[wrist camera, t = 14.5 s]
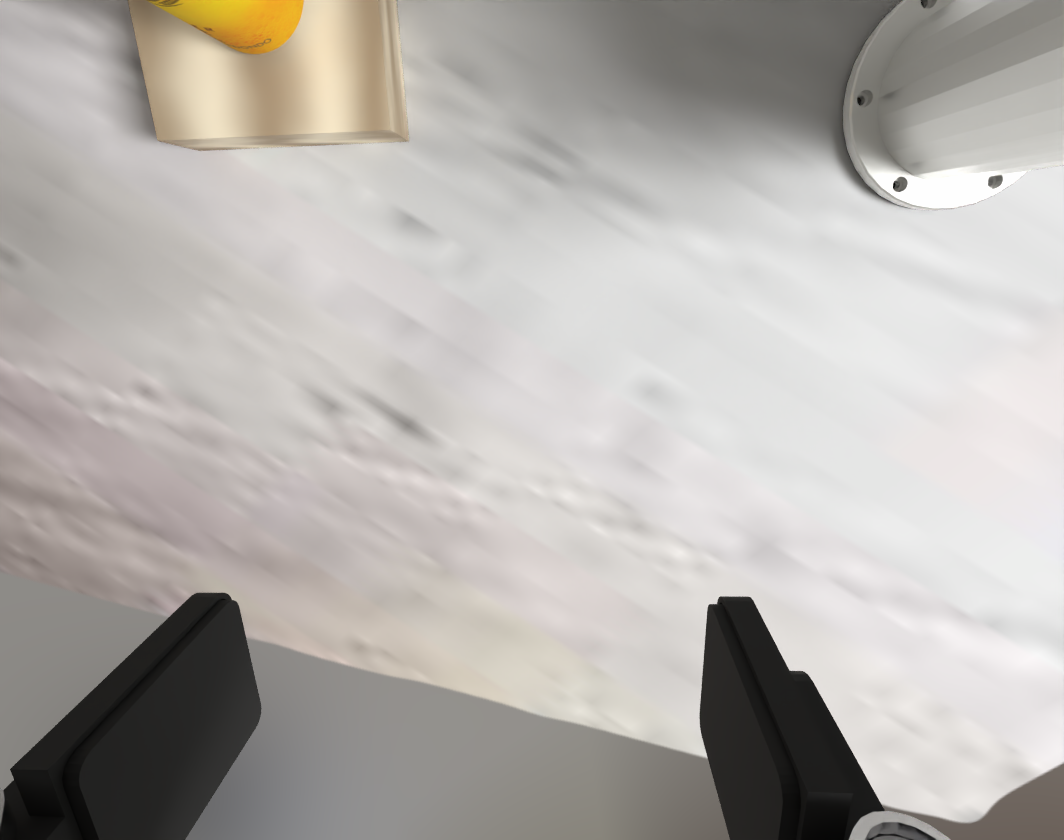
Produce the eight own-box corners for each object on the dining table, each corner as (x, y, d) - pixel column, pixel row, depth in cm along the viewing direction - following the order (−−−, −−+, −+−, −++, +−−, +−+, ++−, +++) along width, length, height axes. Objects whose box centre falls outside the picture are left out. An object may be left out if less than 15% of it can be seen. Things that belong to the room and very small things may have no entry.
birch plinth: (384, -132, 32) (360, -182, 28) (409, 141, 36) (390, 129, 32) (148, -114, 33) (93, -160, 29) (199, 150, 37) (157, 140, 33)
